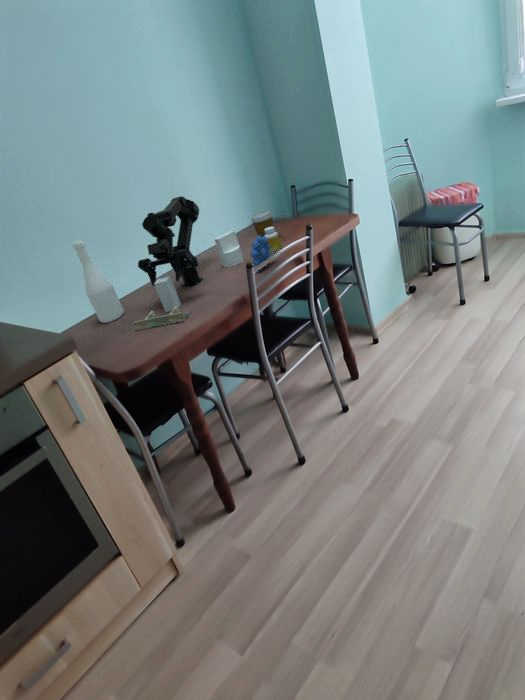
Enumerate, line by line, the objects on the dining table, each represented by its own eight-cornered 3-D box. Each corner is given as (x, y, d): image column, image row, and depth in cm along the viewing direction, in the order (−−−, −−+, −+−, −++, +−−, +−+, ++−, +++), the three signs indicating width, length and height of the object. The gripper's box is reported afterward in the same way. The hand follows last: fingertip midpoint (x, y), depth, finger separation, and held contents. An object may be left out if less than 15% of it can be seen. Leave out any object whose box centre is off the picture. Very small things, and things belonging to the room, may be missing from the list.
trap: (144, 321, 168) (140, 313, 167) (191, 311, 163) (188, 303, 162) (136, 330, 163) (132, 322, 161) (184, 321, 158) (181, 313, 156)
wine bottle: (99, 319, 184) (62, 244, 171) (122, 309, 187) (88, 234, 173) (101, 326, 176) (63, 248, 163) (126, 315, 179) (91, 238, 165)
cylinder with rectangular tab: (231, 268, 193) (222, 239, 188) (218, 266, 200) (209, 239, 194) (248, 259, 198) (239, 230, 192) (235, 258, 204) (226, 230, 199)
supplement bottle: (280, 252, 193) (274, 228, 189) (268, 255, 195) (261, 231, 191) (282, 247, 198) (276, 224, 194) (270, 250, 200) (263, 227, 195)
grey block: (169, 306, 174) (158, 278, 169) (181, 304, 173) (170, 276, 168) (165, 312, 170) (153, 283, 165) (177, 310, 169) (165, 281, 164)
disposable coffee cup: (282, 236, 213) (275, 209, 207) (271, 244, 206) (264, 217, 201) (264, 238, 218) (257, 212, 213) (253, 246, 212) (245, 219, 206)
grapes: (264, 261, 189) (256, 232, 183) (278, 260, 185) (270, 230, 179) (247, 274, 181) (238, 243, 176) (261, 273, 177) (252, 242, 172)
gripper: (129, 238, 168) (128, 280, 164) (177, 226, 163) (178, 268, 159) (146, 252, 178) (146, 291, 174) (192, 241, 173) (193, 281, 169)
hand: (165, 283), depth 169 cm, fingers open, 9 cm apart
